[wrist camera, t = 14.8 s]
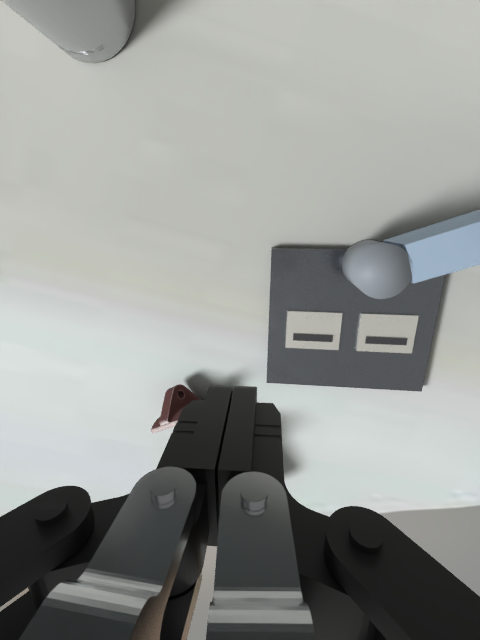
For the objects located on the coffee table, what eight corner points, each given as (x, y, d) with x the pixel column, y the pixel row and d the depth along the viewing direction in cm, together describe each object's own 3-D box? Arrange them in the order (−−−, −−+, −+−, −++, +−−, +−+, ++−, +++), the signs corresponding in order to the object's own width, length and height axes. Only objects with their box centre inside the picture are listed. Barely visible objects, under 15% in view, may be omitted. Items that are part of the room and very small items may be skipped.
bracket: (189, 375, 38) (151, 455, 31) (278, 449, 44) (264, 531, 37) (159, 389, 41) (119, 463, 34) (246, 456, 47) (227, 531, 40)
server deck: (271, 242, 35) (271, 245, 32) (445, 245, 33) (466, 248, 30) (266, 378, 40) (266, 394, 36) (418, 387, 38) (432, 404, 35)
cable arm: (348, 293, 32) (362, 307, 27) (336, 246, 31) (349, 252, 25) (539, 237, 29) (598, 240, 23) (534, 182, 27) (595, 173, 22)
